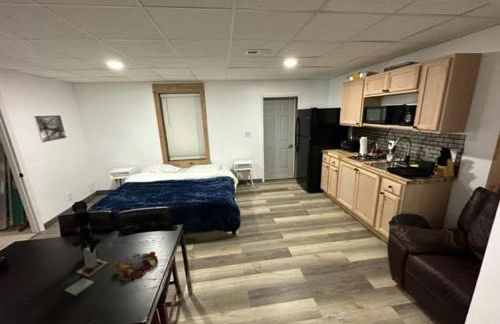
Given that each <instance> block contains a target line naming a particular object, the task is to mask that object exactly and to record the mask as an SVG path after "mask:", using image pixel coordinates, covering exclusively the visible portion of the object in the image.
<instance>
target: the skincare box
mask: <svg viewBox="0 0 500 324" xmlns="http://www.w3.org/2000/svg"><path fill="white" fill-rule="evenodd" d="M96 249H97V248H95V249H94V251H93V253H91V251H90V249H89V247H87V248H85V249H83V251H82V252H83V256H84V257H83V259H84V266H86V267H88V268H89V269H91V268H93V267H95V266H97V265H98V262H97V259H98V258H97V254H96V252H97V251H96Z"/></svg>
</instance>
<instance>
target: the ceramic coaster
mask: <svg viewBox="0 0 500 324" xmlns="http://www.w3.org/2000/svg"><path fill="white" fill-rule="evenodd" d="M94 283H95V282H94V281H93V280H90V279H87V278H85V277H83V278H81V279H79V280H78V281H76V282H75V283H73V284H72V285H70V286H69V287H66V288H65V289H64V292H67V293H69V294H71V295H73V296H77V295H79V293H82V292H83V291H84V290H85V289H87V288H88V287H90V286H91V285H93V284H94Z"/></svg>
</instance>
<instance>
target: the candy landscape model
mask: <svg viewBox="0 0 500 324" xmlns="http://www.w3.org/2000/svg"><path fill="white" fill-rule="evenodd" d="M158 264H159V260H158V256H157V255H156V252H155V251H153V250H152V251H150V252H149V253H147V252H145V253H143V254H141V253H138V252H134V253H130V254H129V255H127V256H125V255H124V256H123V257H122V258H121V259H117V260H115V261H114V262H113V263H112V267H113V268H114V270H115V271H114V274H115V275H117V279H118V280H121V281H126V282H128V281H130V280H132V281H134V279H135V278H137V279H140V278H141V277H143V276H144V275H146V273H147V272H149V271H152V270H154V268H156V267H157V266H158Z"/></svg>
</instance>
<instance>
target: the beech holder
mask: <svg viewBox="0 0 500 324" xmlns="http://www.w3.org/2000/svg"><path fill="white" fill-rule="evenodd" d="M96 259H97V264H98V263H99V264H102V265H99V267H97V268H95V269H93V270H92V271H91V272H90V273H88V272H86V271H84V270H86V269H88V268H89V267H86V266H85V265H84V266H82V267H81V268H78V269H77V270H76V274H78V275H82V276H84V277H87V278H90V277H91V276H93V275H94V274H95V273H97V272H99V271H100V270H102V269H103V268H105V267H106V266H108V265H109V262H108V261H104V260H101V259H99V258H96Z"/></svg>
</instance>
